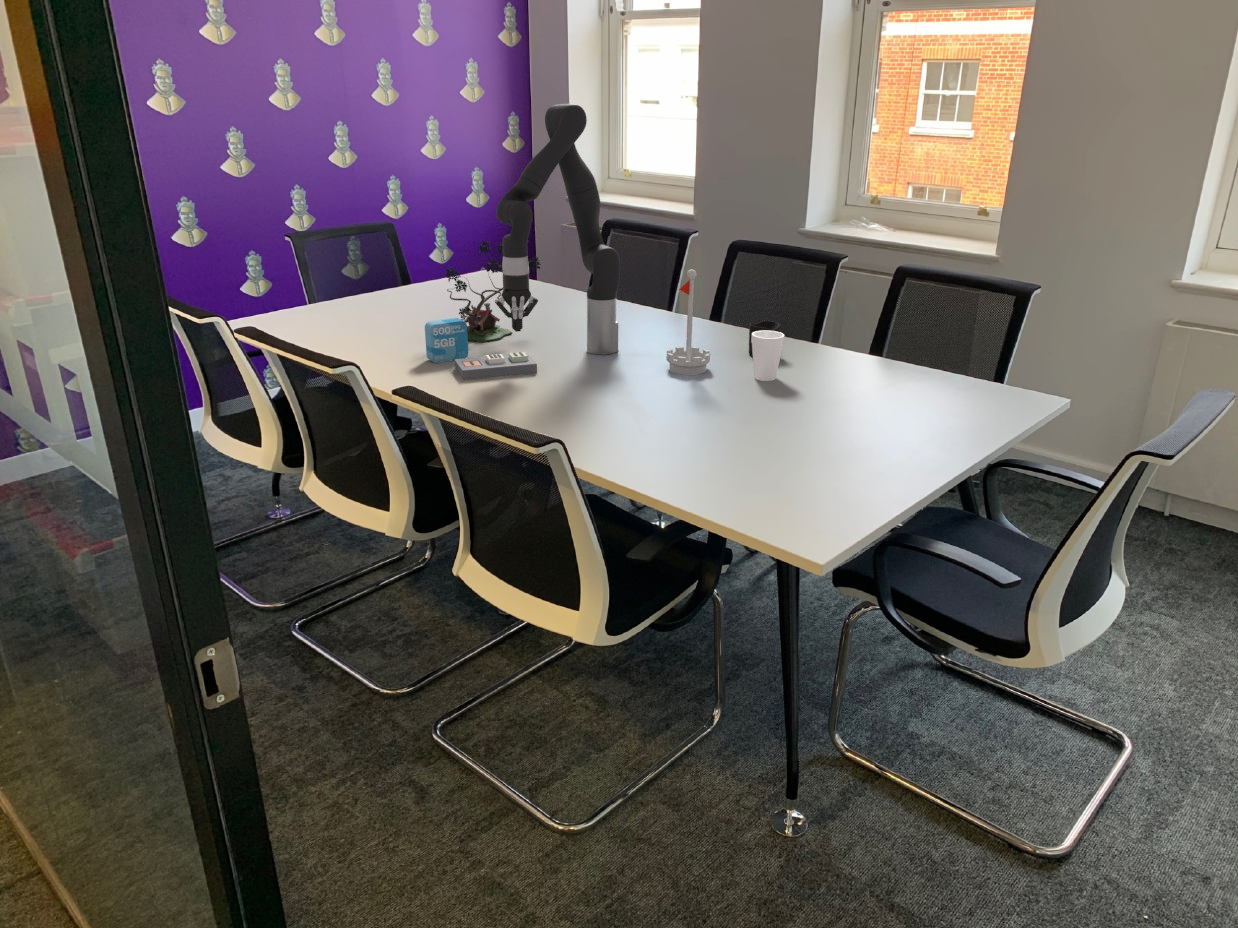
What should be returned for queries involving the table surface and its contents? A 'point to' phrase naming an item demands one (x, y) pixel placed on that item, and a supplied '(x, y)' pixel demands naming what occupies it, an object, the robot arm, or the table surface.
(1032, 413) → the table surface
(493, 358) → the button three
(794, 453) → the table surface
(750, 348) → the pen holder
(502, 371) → the button panel
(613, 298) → the robot arm
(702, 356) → the flag stand
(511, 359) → the button two
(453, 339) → the data package
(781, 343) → the foam cup
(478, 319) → the bonsai tree
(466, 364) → the button one
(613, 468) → the table surface
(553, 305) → the table surface
